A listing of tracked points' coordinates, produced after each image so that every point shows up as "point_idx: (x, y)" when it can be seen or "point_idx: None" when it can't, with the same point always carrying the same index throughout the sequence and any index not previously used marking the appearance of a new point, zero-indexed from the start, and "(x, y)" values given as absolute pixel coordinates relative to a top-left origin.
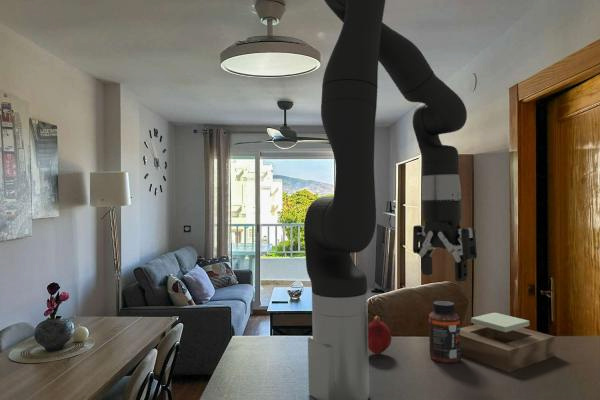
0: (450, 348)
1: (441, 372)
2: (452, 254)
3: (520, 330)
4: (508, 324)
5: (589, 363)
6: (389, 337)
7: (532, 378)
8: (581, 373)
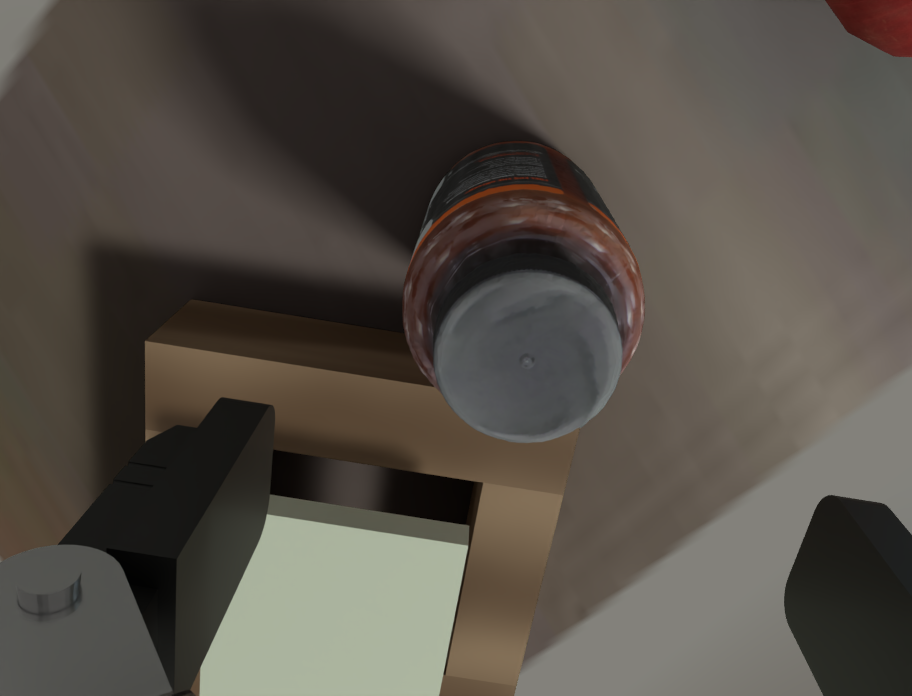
0: (437, 194)
1: (410, 21)
2: (158, 678)
3: None
4: None
5: None
6: None
7: (89, 309)
8: (14, 508)
